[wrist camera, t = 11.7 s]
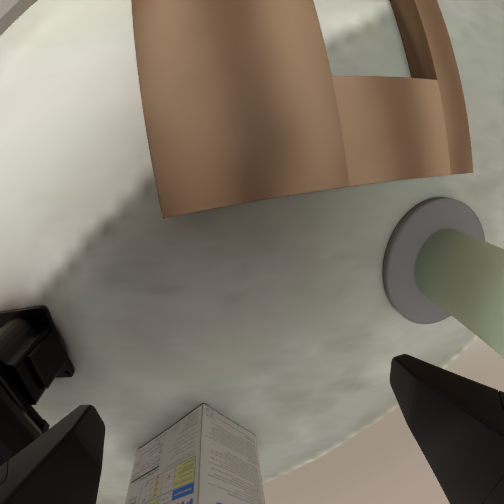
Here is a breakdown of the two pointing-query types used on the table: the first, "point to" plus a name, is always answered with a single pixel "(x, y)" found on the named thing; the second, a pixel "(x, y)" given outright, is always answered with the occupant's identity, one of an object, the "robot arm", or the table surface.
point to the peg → (465, 282)
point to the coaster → (408, 246)
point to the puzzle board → (288, 103)
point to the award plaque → (12, 11)
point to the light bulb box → (198, 464)
